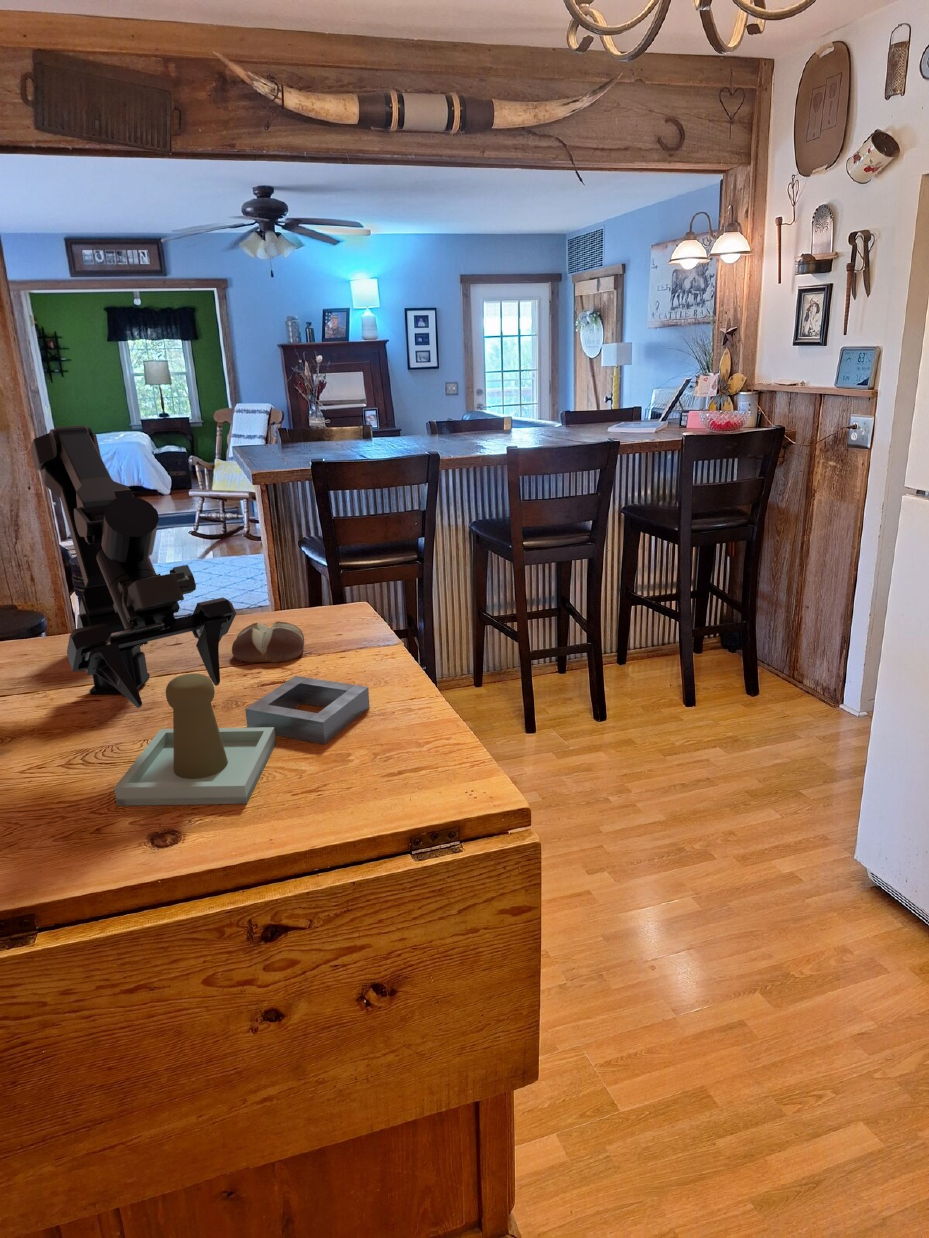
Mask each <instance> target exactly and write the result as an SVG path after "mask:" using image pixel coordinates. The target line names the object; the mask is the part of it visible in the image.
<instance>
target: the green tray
mask: <svg viewBox="0 0 929 1238" xmlns="http://www.w3.org/2000/svg"><path fill="white" fill-rule="evenodd" d="M218 729H219V732H220V736H221V739H222V743H223V746H224V750H225V753H226V757H227V760H228V764H227V766H226V767H225V768H224V769H223V770H222V771H220V772H218V773H216V774H214V775H211V776H208V777H204V778H198V779H187V778H181V777H179V776H177V775H176V774H175V773H174V745H173V728H160V729H159V730H158V732H157V733H156V735H155V736H154V737H153V738H152V739H151V740H150V742H149V743H148V745H147V746H145V748H144V750H142V752H141V753H140V755H139V756H138V757H137V758H136V759H135V761H134V762H133V763H132V765H130V767H129V769H127V771H126V772H125V773H124V774H123V775H122V777H121V778H120V780H118V782H117V783H116V784H115V786H114V787H113V789H114V795H115V801H116V806H118V807H119V806H120V807H122V806H124V807H126V806H130V807H131V806H177V805H178V806H187V805H193V806H194V805H246V804H248V802H249V801H250V798H251V796H252V794H253V792H254V790H255V788H256V785H257V784H258V781H259V779H260V777H261V776H262V773H263V770H264V769H265V767H266V765H267V762H268V760H269V759H270V756H271V754H272V752H273V750H274V748H275V746H276V744H277V743H276V735H275V730H274V727H258V728H247V727H218Z"/></svg>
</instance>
